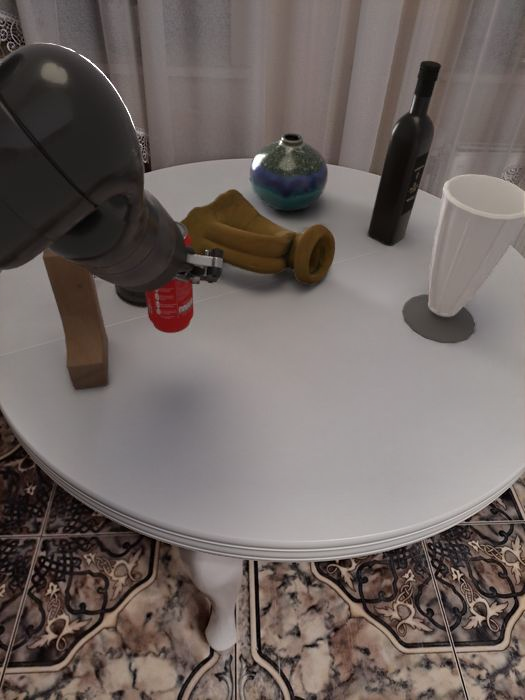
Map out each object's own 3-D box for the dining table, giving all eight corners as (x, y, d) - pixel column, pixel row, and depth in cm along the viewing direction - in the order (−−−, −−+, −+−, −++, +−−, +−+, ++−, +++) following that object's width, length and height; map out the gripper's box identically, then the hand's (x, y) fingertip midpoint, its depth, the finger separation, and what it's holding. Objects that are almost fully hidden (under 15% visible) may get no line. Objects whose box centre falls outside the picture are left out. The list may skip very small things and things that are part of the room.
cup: (484, 313, 83) (543, 191, 67) (461, 354, 76) (521, 227, 60) (418, 286, 87) (459, 165, 71) (390, 322, 80) (430, 196, 64)
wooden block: (108, 385, 68) (82, 277, 55) (73, 390, 67) (38, 281, 54) (108, 339, 74) (83, 232, 61) (75, 343, 73) (44, 235, 60)
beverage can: (164, 341, 57) (154, 252, 49) (140, 316, 60) (128, 227, 51) (202, 323, 60) (200, 235, 51) (178, 300, 62) (172, 213, 54)
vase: (233, 203, 103) (234, 137, 94) (277, 176, 112) (282, 114, 103) (295, 230, 97) (303, 163, 88) (337, 200, 106) (348, 136, 97)
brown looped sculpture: (241, 182, 94) (345, 205, 83) (235, 251, 99) (332, 281, 88) (167, 185, 80) (280, 214, 69) (165, 265, 86) (269, 303, 74)
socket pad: (141, 316, 78) (139, 304, 76) (102, 282, 83) (99, 270, 81) (197, 288, 83) (197, 275, 82) (158, 257, 89) (156, 245, 87)
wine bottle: (406, 236, 98) (457, 64, 76) (390, 247, 95) (438, 72, 73) (381, 224, 100) (424, 55, 79) (365, 235, 97) (404, 62, 76)
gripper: (223, 201, 40) (238, 245, 57) (43, 182, 40) (112, 231, 57) (212, 296, 40) (231, 312, 57) (33, 276, 40) (105, 298, 57)
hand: (171, 271), depth 57 cm, fingers closed on beverage can, 5 cm apart
